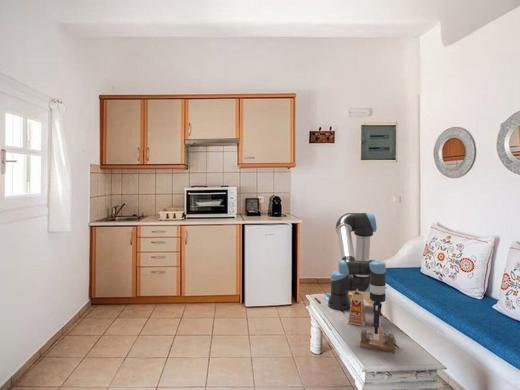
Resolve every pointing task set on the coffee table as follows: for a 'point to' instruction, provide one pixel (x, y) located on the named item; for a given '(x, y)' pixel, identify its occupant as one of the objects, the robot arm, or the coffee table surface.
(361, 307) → the milk carton
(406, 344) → the coffee table surface
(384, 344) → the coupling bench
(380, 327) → the block
